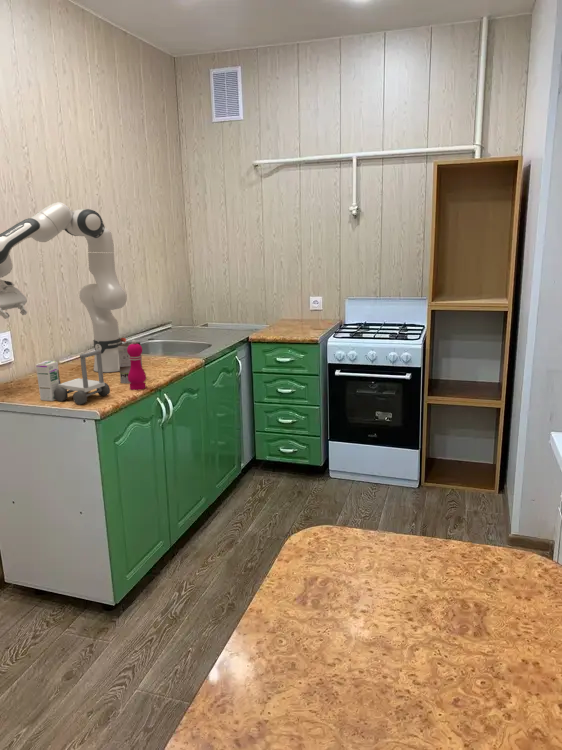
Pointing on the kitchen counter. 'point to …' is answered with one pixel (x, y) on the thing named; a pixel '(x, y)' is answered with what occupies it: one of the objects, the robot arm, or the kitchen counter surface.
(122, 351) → the coffee box
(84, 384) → the hand trolley
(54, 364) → the syrup box
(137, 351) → the pepper mill
